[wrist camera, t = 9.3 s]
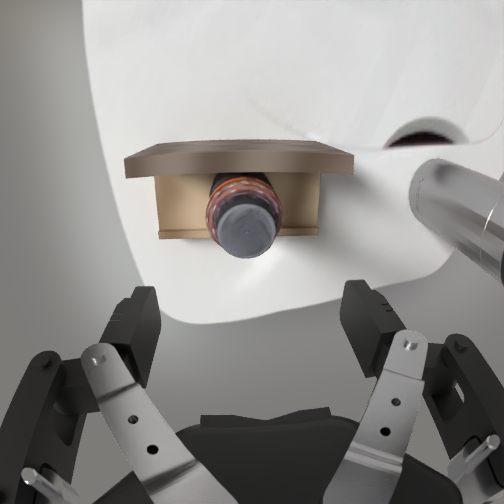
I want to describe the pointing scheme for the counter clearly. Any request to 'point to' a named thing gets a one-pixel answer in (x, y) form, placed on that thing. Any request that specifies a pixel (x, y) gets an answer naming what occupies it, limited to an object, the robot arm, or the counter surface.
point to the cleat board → (236, 160)
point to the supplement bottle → (243, 213)
